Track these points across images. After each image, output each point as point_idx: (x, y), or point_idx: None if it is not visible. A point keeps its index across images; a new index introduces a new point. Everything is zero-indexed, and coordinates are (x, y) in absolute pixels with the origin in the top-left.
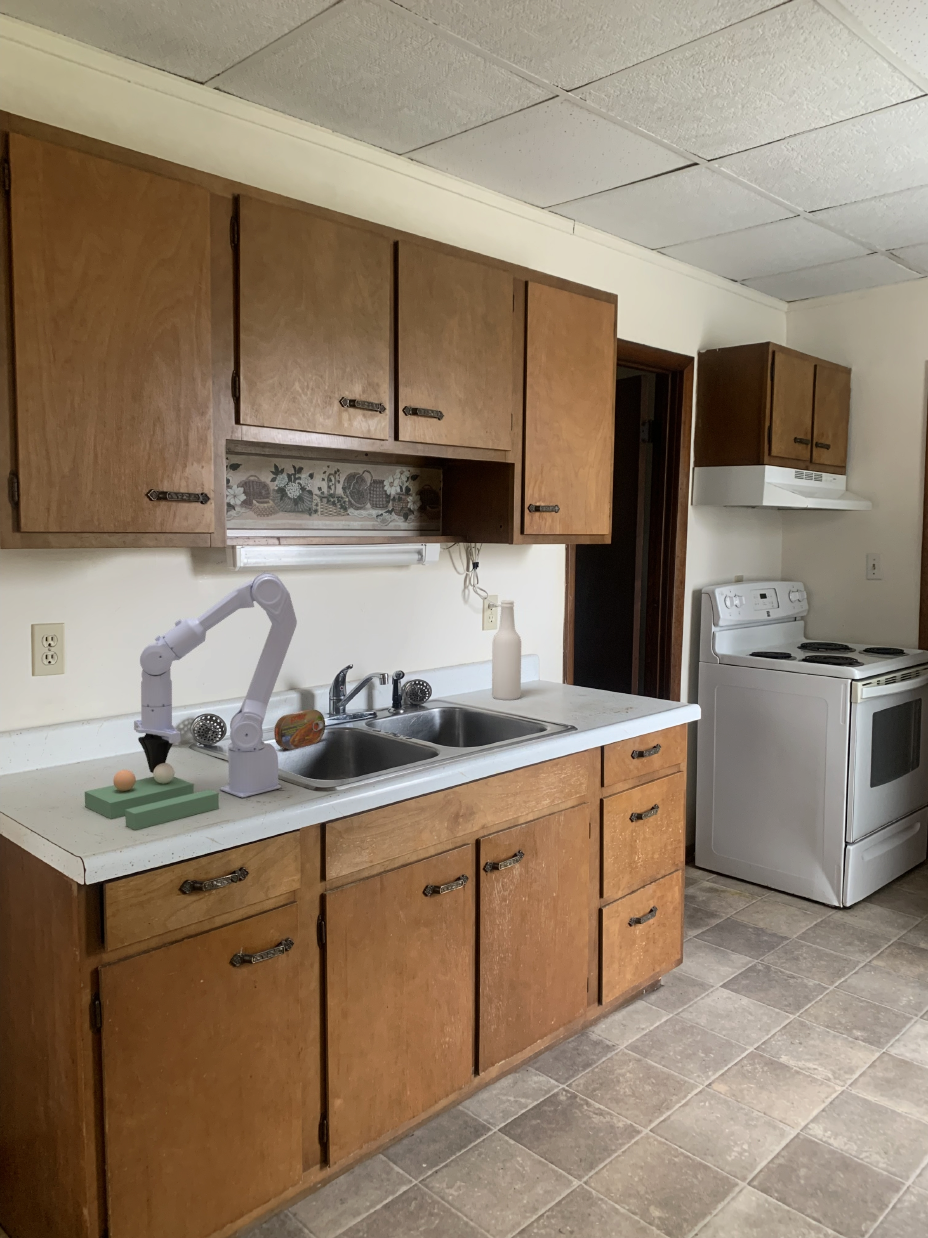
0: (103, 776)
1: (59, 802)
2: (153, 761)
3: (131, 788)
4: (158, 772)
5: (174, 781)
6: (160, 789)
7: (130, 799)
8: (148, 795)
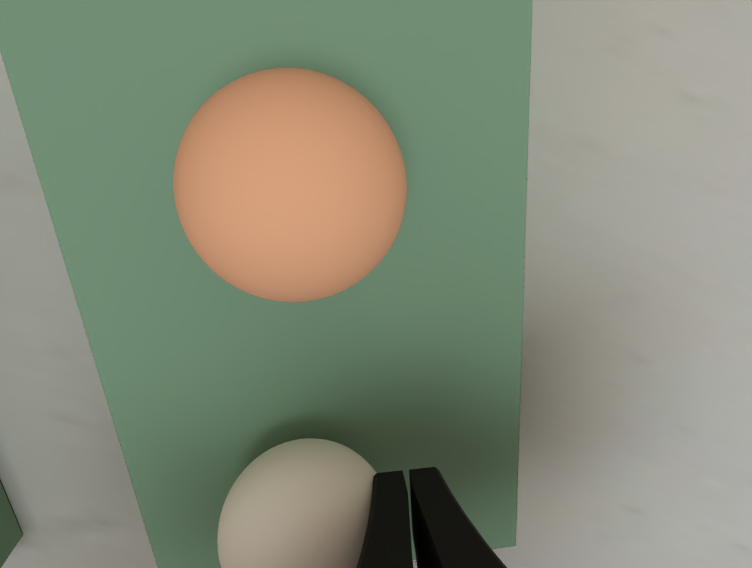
0: None
1: None
2: (359, 564)
3: None
4: (253, 500)
5: None
6: (159, 399)
7: (26, 113)
8: (75, 280)
